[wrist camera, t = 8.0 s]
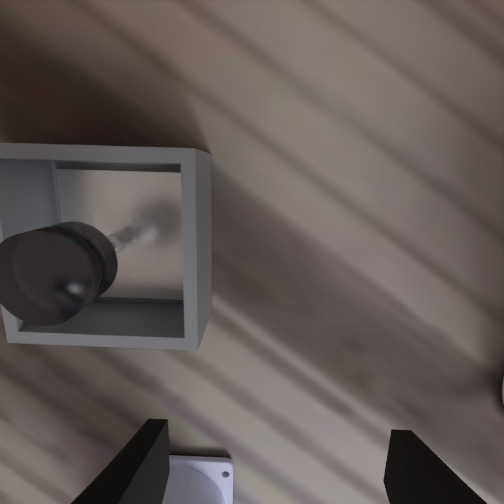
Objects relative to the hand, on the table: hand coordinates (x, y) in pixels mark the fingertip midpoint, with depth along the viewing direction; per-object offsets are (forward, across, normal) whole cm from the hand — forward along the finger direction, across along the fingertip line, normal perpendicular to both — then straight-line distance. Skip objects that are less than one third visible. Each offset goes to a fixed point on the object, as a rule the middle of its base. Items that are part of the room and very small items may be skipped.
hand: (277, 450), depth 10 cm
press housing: (+9, +8, -5) cm, 13 cm away
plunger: (+9, +8, -5) cm, 13 cm away
